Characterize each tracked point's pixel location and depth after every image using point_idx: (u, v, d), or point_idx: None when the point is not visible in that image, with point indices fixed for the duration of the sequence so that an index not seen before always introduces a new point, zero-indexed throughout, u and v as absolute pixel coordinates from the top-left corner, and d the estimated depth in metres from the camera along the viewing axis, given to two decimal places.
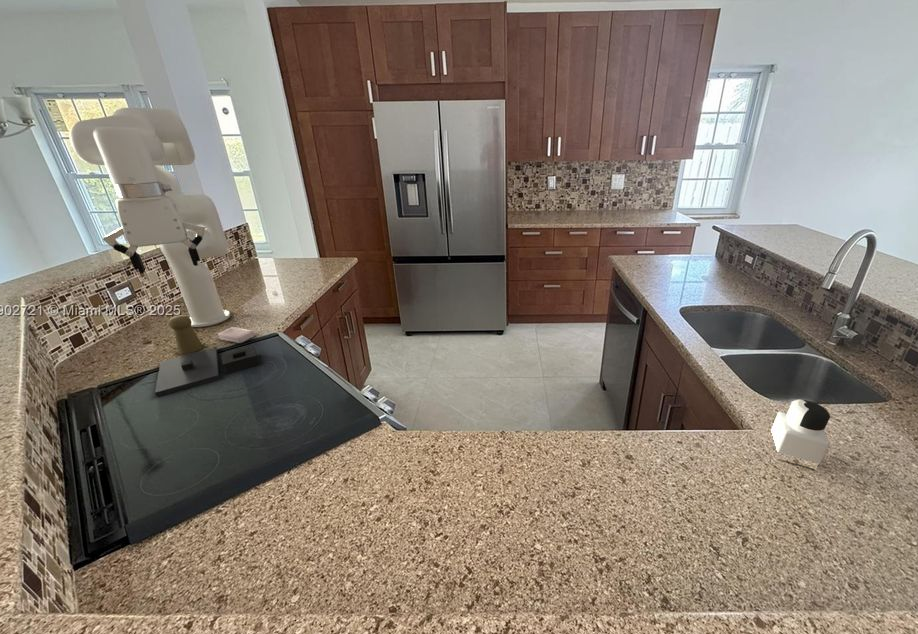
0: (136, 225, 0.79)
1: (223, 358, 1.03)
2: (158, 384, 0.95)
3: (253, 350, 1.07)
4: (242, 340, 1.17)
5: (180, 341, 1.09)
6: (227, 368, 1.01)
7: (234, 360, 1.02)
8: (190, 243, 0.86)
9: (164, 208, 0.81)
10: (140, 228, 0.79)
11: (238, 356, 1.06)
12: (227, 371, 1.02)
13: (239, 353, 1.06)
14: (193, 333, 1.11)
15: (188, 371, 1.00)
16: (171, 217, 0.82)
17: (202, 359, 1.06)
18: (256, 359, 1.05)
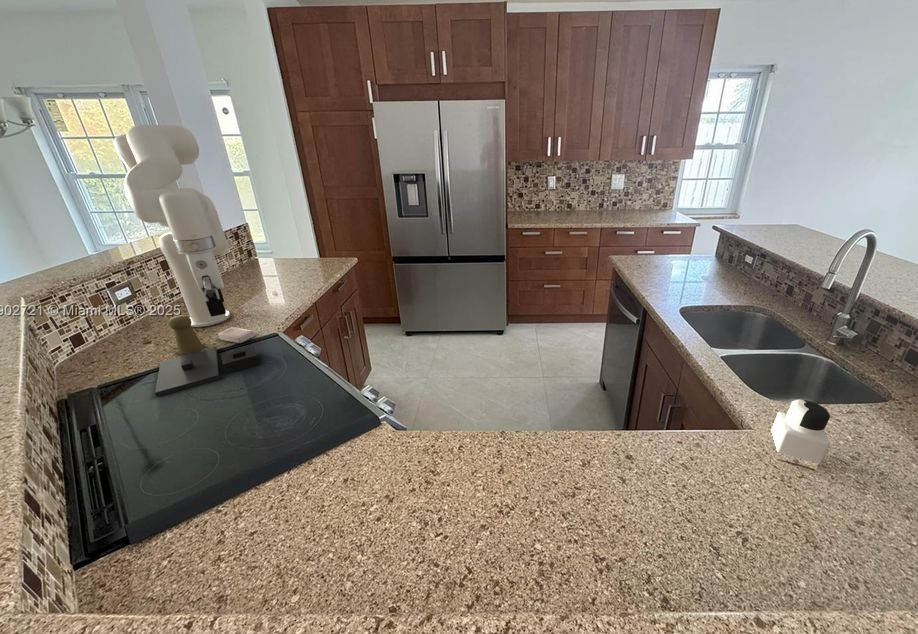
0: None
1: (223, 358, 1.03)
2: (158, 384, 0.95)
3: (253, 350, 1.07)
4: (242, 340, 1.17)
5: (180, 341, 1.09)
6: (227, 368, 1.01)
7: (234, 360, 1.02)
8: (205, 297, 0.90)
9: (189, 262, 0.88)
10: None
11: (238, 356, 1.06)
12: (227, 371, 1.02)
13: (239, 353, 1.06)
14: (193, 333, 1.11)
15: (188, 371, 1.00)
16: (192, 271, 0.89)
17: (202, 359, 1.06)
18: (256, 359, 1.05)
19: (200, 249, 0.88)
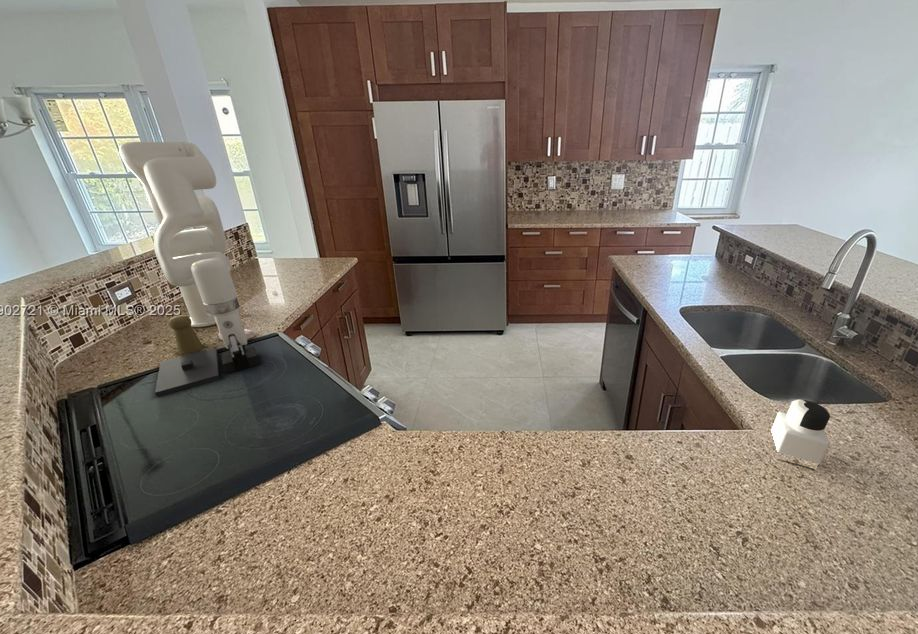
0: None
1: (223, 358, 1.03)
2: (158, 384, 0.95)
3: (253, 350, 1.07)
4: None
5: (180, 341, 1.09)
6: (227, 368, 1.01)
7: None
8: (231, 353, 1.00)
9: (216, 323, 0.96)
10: None
11: None
12: (227, 371, 1.02)
13: None
14: (193, 333, 1.11)
15: (188, 371, 1.00)
16: (219, 331, 0.97)
17: (202, 359, 1.06)
18: (256, 359, 1.05)
19: (227, 311, 0.96)
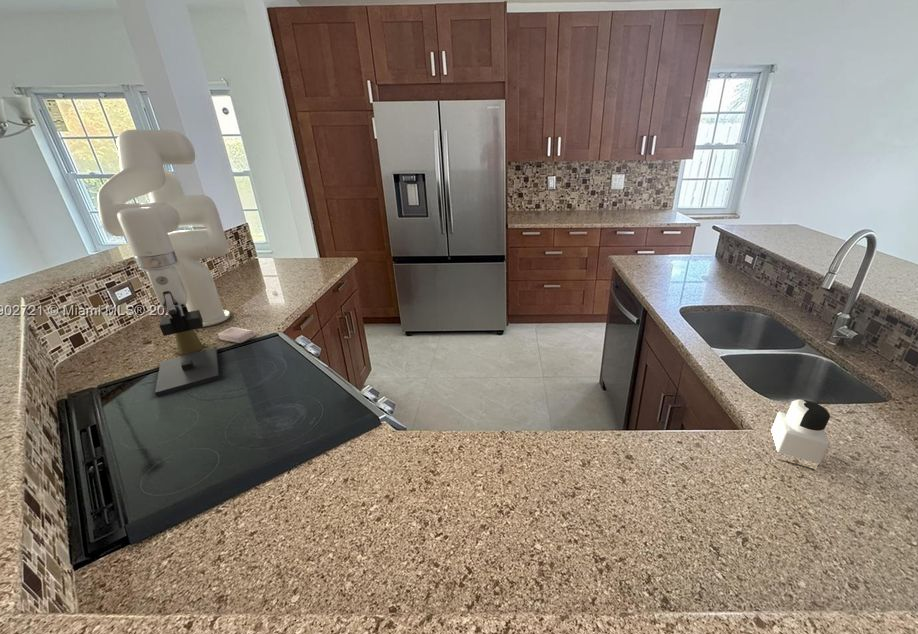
0: None
1: (161, 320, 0.95)
2: (158, 384, 0.95)
3: (196, 313, 0.99)
4: (242, 340, 1.17)
5: (180, 341, 1.09)
6: (165, 330, 0.93)
7: None
8: (168, 313, 0.92)
9: (149, 278, 0.88)
10: None
11: None
12: (165, 333, 0.93)
13: None
14: (193, 333, 1.11)
15: (188, 371, 1.00)
16: (153, 287, 0.88)
17: (202, 359, 1.06)
18: (198, 322, 0.97)
19: (161, 265, 0.88)
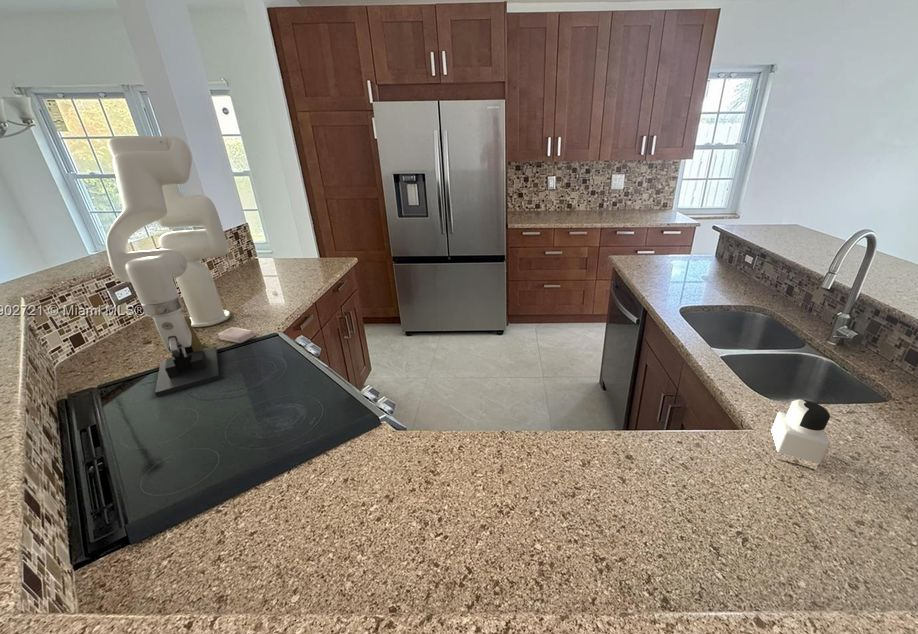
0: None
1: (167, 362, 0.99)
2: (158, 384, 0.95)
3: (200, 353, 1.03)
4: (242, 340, 1.17)
5: None
6: (170, 372, 0.97)
7: None
8: (172, 355, 0.94)
9: (155, 324, 0.92)
10: None
11: None
12: (170, 376, 0.97)
13: None
14: (193, 333, 1.11)
15: None
16: None
17: None
18: (202, 363, 1.01)
19: (166, 311, 0.92)
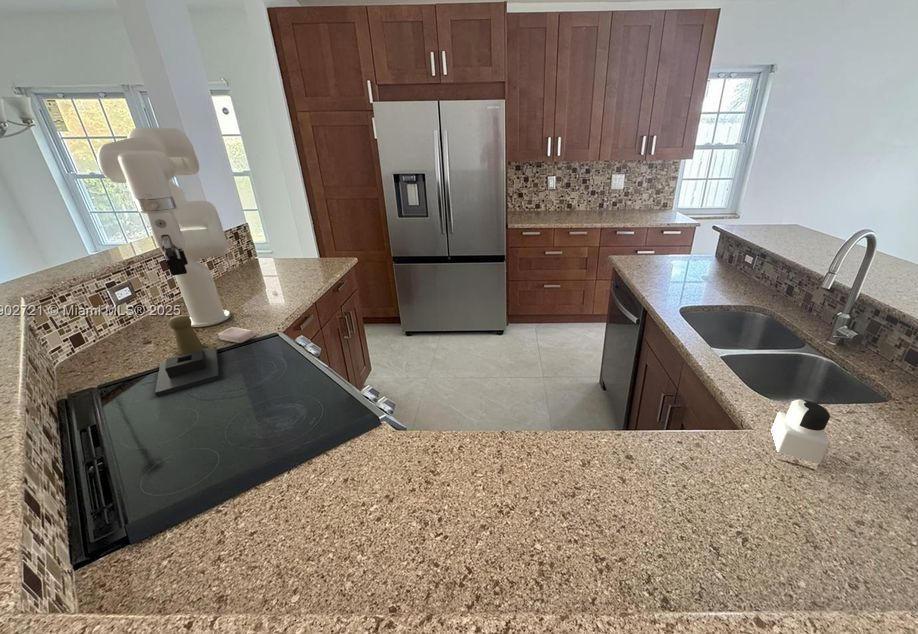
0: None
1: (167, 362, 0.99)
2: (158, 384, 0.95)
3: (200, 353, 1.03)
4: (242, 340, 1.17)
5: (180, 341, 1.09)
6: (170, 372, 0.97)
7: (178, 364, 0.98)
8: (165, 255, 0.94)
9: (148, 221, 0.92)
10: None
11: (184, 360, 1.02)
12: (170, 376, 0.97)
13: (185, 357, 1.02)
14: (193, 333, 1.11)
15: None
16: (152, 230, 0.92)
17: None
18: (202, 363, 1.01)
19: (159, 209, 0.91)
